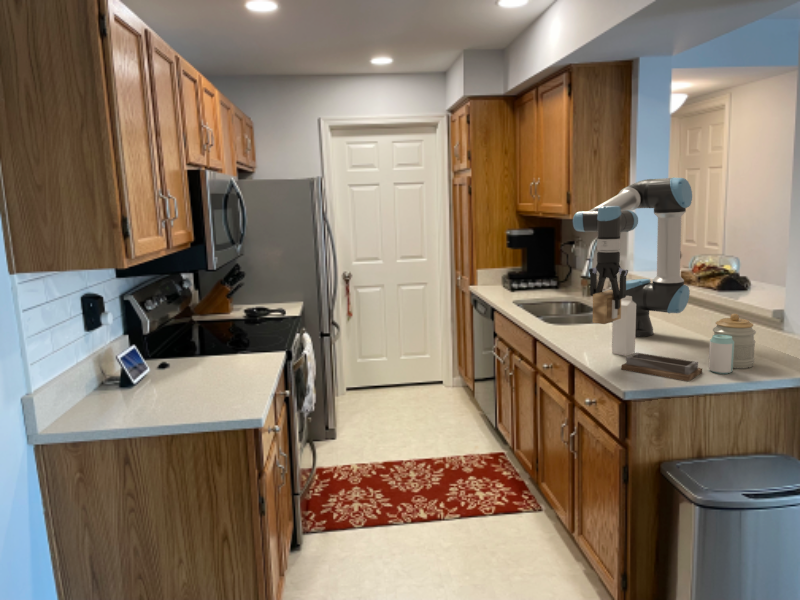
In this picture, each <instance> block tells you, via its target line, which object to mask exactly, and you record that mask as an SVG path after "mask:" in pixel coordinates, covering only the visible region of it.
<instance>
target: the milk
mask: <svg viewBox="0 0 800 600" xmlns="http://www.w3.org/2000/svg"><path fill="white" fill-rule="evenodd" d="M611 327H612V332H611V336H612V338H611V354H615V355H620V356H624V357H625V356H626V357H628V356H630V355H632V354H634V353H636V337H635V331H636V303H635V302H633V301H632V296H626V297H625V298H622V299H621V319H618V320H615V321H612V326H611Z"/></svg>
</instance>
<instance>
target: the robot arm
mask: <svg viewBox="0 0 800 600" xmlns="http://www.w3.org/2000/svg"><path fill="white" fill-rule="evenodd" d="M692 201H693V191H692V186H691V184H690V183H689V181H688V180H687V179H686V178H684V177H665V178H649V179H643V180H639V181H636V182H633V183H631V184H630V185H627V186H625V187H624V188H622V189H621V190H620V191H619V192H618V194H617V195H615V196H613V197H611V198H609V199H607V200H606V201H604V202H601V203H600V204H598V205H597V206H595V207H593V208H592V209H590V210H587V211H584V210H582V211H577V212H575V214H574V215H573V218H572V226H573V229H574V230H575V231H576V232H583V233H590V232H591V233H596V232H597V236H596V237H597V240H596V243H597V244H596V249H597V253H596V265H595V267H592V268H589V269H588V274H589V276H590V277H589V296H590V297H593V294H596V293H600V292H603V289H604V286H605V282H606V279H608V280H609V281H610V284H611V290H613V295H614V299H613V300H612V319H614V318H617V312H618V309H619V308H620V299H622V298H625V297H626V296H632V301H633V302H635V303H636V331H635V338H637V337H638V338H639V337H641V338H642V337H648V336H649V337H650V336H652V335H654V327H653V324H652V320H651V317H650V311H651V312H659V313H666V314H667V313H668V314H681V313H682V312H683V311H684V310H685V308H686V307H687V305H688V302H689V299H690V288H689V286H688V285H687V284H685V279H684V278H682V276H681V253H682V252H681V247H682V244H681V243H682V217H683V215H685V214H686V212H687V210H686V209H687V208H690V207H691V205H692ZM637 209H653V214H654V215H655V216H656V217H657V236H656V237H657V238H656V240H657V241H656V243H657V244H656V245H657V246H656V248H657V249H656V276H655V277H654V278H653V279H652V281H651V279H650V278H637V279H629V280H627V276H628V273H629V270H628V269H624V268H621V266H620V265H621V264H620V262H621V260H620V259H621V252H620V251H621V233H628V232H631V231H633V230H635V229H636V227H638V225H639V217H638V215H637V213H636V212H635V210H637ZM618 273H619V283H618ZM597 274H599V275H597ZM597 276H598V277H597ZM597 278H598V280H597Z"/></svg>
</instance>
